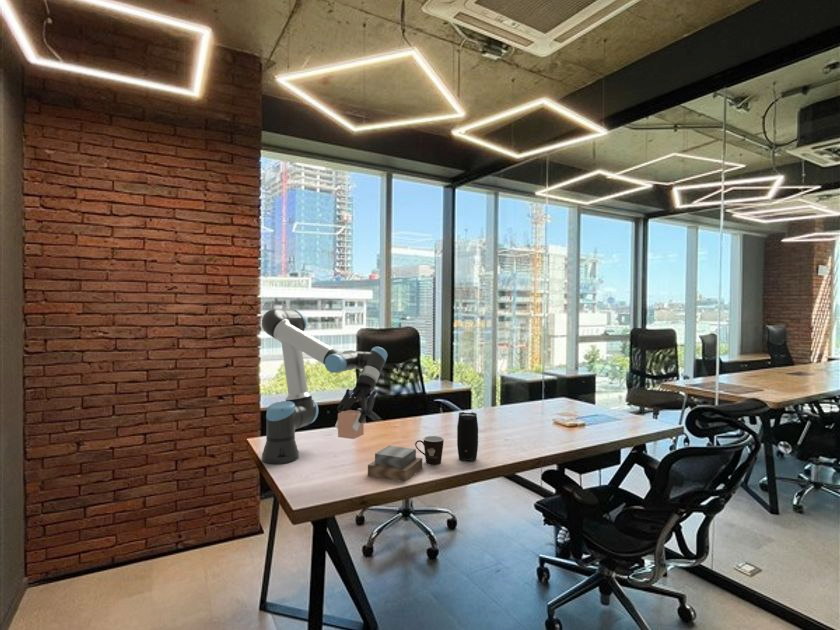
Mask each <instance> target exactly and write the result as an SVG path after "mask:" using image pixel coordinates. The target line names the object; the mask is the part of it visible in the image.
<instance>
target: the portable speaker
mask: <svg viewBox="0 0 840 630" xmlns="http://www.w3.org/2000/svg"><path fill="white" fill-rule="evenodd" d="M477 415H478V414H477V413H476V412H472V411H471V412H464V411H461V412H459V413H458V417H457V419H458V420H457V426H456V428H457V429H456V430H457V431H456V434H457V436H456V439H457V442H456V444H457V455H458V460H459V461H463V460H468V461H469V462H475V461H477V457H478V451H479V450H478V449H479V447H478V446H479V425H478V424H479V423H478V417H477Z"/></svg>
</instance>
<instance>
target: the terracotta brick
mask: <svg viewBox="0 0 840 630" xmlns="http://www.w3.org/2000/svg"><path fill="white" fill-rule="evenodd" d="M360 411H361V410H354V409H353V410H352V409H349V410H346V411H344V412H341V413H340V412H338V413H337V417H338V419H337V420H338V429H337V438H344V439H350V440H355V439H357V438H360V437H361V436H363V435H364V431H365V429H364V420H363V422H362V423H360V425H359V428H358V430H357V432H355V431H354V429H353V428H352V427H353V425H354V423H355V420H356V418H357V416H358V413H361V412H360Z"/></svg>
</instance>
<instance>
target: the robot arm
mask: <svg viewBox="0 0 840 630" xmlns="http://www.w3.org/2000/svg"><path fill="white" fill-rule="evenodd" d="M261 327H262V329H263V331H264V332H265V333H266V334H267V335H269V336H270V337H271V338H273V339H275V340H277V341H279V342H280V343H281V349H282V350H281V351H282V357H283V364H284V370H285V371H284V372H285V373H284V374H285V381H286V386H287V387H286V388H287V392H288V393H287V396H286V398H285V401H284V400H283V401H282V400H281V401H277V402H274V403H271V404H270V405H269V406H267V408H266V415H265V418H266V420H265V421H266V423H265V424H266V427H265V428H266V429H265V430H266V432H265V433H266V440H265V445H264V448H263V451H262V455H261V461H262V462H263V463H265V464H269V465H271V464H272V465H279V464H287V462H288V463H292V462H295V461H297V460H298V459H299V457H300V453H299V452H300V450H299V449H298V445H297V442H296V437H295V436H296V430H298V429H300V428H302V427H307V426H309V425H311V424H312V423H314V422H315V421H316V420H317V417H318V415H319V405H318V403H317V402H316V401H315V400H314V399H313V396H312V394H311V393H310V392H308V385H307V377H306V371H305V370H306V369H305V364H304V356H303V355H304V354H305V355H307V356H309V357H311V358H312V359H314V360H316V361H318V362H320V363H321V364H322V365H324V367H325V369H326V370H327V371H328V372H329V373H331V374H333V373H334V374H339V373H342V372H347V371H351V370H356V369H357V370H361V371H360V374H359V376H358V379H357V380H356V383H355V387H354V388H352V389H350V388H347V389H346V391H345V394H344V395H343V397H342V399H341V400H340V402H339V404H337V405H338V406H337V407H336V410H337V411H338V413H341V412H344V411H346V410H350V409H351V407H352V406H353V405H354V404H355V403H357V402H358V401H361V409H360V410H359V411H360V412H361V413H358V416H357V418H356V420H355V423H354V425H353V427H352V428H353V429H354V431H355V432H357V430H358V428H359V425H360V423H362V422H363V421H364V420H365V418H366V417H367V416H371V415H372V412H373V408H374V404H375V401H376V399H377V398H378V396H379V395H378V393H377V391H376V390H374V389H375V387H376V385H377V382H378V380H379V377H380V375H381V373H382V370H383V368H384V366H385V364H386V361H387V358H388V352H387V350H385V348H383V347H380V346H374V347H372V348H371V350H370V351H356V350H344V351H343V352H341V351H339V350H338V349H335V348H334V347H332V346H331V345H329V344H326V343H325V342H323V341H321V340H319V339H318V338H316V337H314V336H312V335H310V334H309V333H307V332H306V331H305V330H306V328H307V318H306V316H305V315H304V314H303V312H301V311H300V310H298V309H294V308H272V309H270V310H268V311H266V312H265V313H264V314H263V316H262V318H261ZM303 353H304V354H303ZM368 398H369V399H368ZM336 419H337V420H336V423H335V425H334V426H335V428H336V429H337V430H338V416H337V418H336ZM296 459H297V460H296ZM294 460H295V461H294ZM291 461H292V462H291Z"/></svg>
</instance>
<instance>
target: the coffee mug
mask: <svg viewBox="0 0 840 630" xmlns="http://www.w3.org/2000/svg"><path fill="white" fill-rule="evenodd" d="M418 443H422V445H423V448H424V452H423V451H422V450H421V449H420V448H419V447H418V446H417V444H418ZM444 443H445V438H444V437H442V436H438V435H428V436H424V437H423V439H422V440H416V441H415V443H414V444H415V446H414V447H415V449H416V450H418V451H419V452H420V453H421V454H422V455H424V458H425V464H427V465H429V464H430V465H429V466H437V465H441V464H442V459H443V451H444V450H443V449H444Z"/></svg>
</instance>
